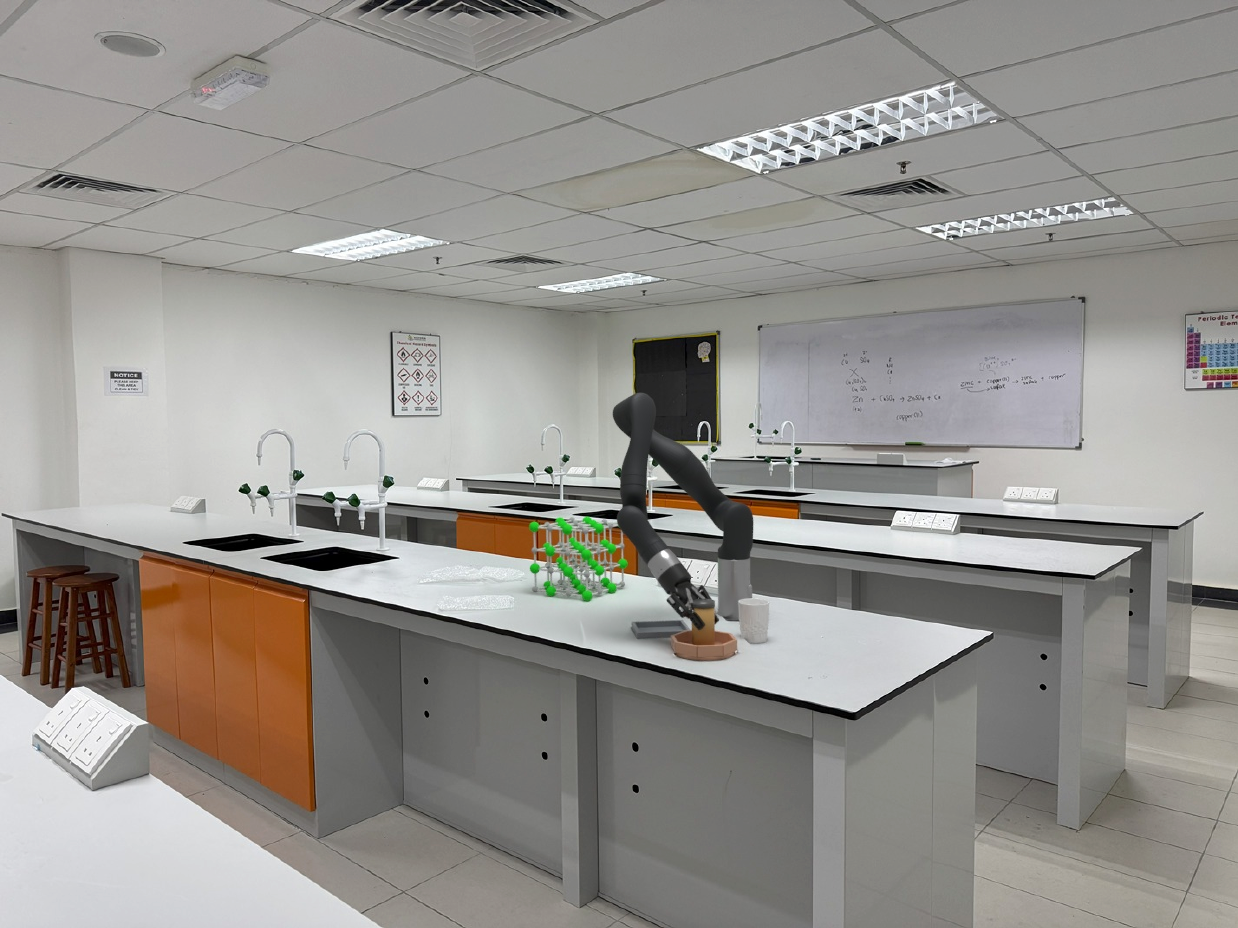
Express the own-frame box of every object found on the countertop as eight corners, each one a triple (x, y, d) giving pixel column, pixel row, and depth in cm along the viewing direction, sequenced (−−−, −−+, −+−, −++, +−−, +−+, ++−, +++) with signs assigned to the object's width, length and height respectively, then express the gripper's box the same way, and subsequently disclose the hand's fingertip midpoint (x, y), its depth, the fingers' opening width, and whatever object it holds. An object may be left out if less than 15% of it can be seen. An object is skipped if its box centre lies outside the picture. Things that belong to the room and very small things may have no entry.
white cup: (762, 645, 206) (762, 606, 205) (733, 641, 210) (733, 602, 209) (774, 638, 212) (773, 600, 212) (745, 634, 216) (745, 597, 216)
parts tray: (682, 628, 223) (682, 619, 223) (691, 640, 211) (691, 630, 211) (631, 630, 222) (631, 621, 222) (637, 642, 210) (637, 632, 210)
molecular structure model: (630, 588, 279) (629, 518, 278) (588, 602, 258) (587, 526, 257) (572, 582, 292) (571, 514, 291) (528, 594, 271) (526, 522, 270)
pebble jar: (712, 639, 204) (712, 598, 203) (717, 645, 198) (717, 603, 197) (689, 640, 203) (689, 598, 203) (693, 646, 197) (693, 604, 197)
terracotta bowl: (726, 642, 209) (726, 628, 209) (741, 659, 194) (741, 644, 194) (667, 644, 207) (667, 631, 207) (678, 661, 192) (678, 647, 192)
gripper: (660, 566, 199) (702, 621, 192) (693, 558, 210) (734, 610, 203) (643, 585, 202) (683, 640, 195) (676, 576, 213) (716, 628, 207)
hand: (709, 625), depth 199 cm, fingers closed on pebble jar, 5 cm apart
